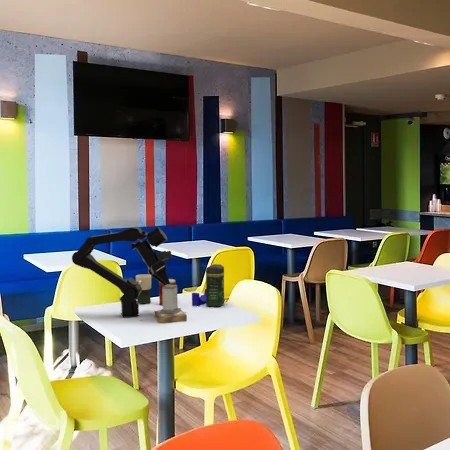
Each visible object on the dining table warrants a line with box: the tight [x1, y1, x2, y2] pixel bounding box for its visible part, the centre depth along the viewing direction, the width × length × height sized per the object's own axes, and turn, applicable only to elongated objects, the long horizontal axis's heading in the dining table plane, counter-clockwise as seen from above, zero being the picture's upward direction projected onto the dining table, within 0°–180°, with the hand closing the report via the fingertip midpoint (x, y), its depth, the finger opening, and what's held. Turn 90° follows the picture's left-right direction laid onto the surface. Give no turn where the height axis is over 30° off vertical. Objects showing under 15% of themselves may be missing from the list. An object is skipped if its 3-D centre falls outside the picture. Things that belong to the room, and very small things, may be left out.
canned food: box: [158, 278, 177, 306], centre depth 250 cm, size 8×8×11 cm
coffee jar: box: [205, 263, 225, 308], centre depth 247 cm, size 10×8×19 cm
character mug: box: [135, 273, 152, 304], centre depth 253 cm, size 11×7×13 cm, turn 166°
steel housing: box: [160, 284, 182, 315], centre depth 222 cm, size 6×6×11 cm
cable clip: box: [191, 288, 206, 307], centre depth 251 cm, size 12×4×6 cm, turn 148°
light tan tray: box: [154, 309, 188, 324], centre depth 222 cm, size 11×11×3 cm
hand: (167, 284), depth 226 cm, fingers open, 9 cm apart
